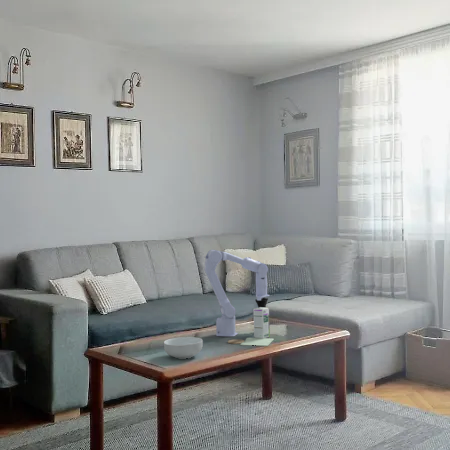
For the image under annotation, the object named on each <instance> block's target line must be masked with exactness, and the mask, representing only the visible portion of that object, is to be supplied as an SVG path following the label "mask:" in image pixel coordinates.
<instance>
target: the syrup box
mask: <svg viewBox="0 0 450 450" xmlns="http://www.w3.org/2000/svg"><path fill="white" fill-rule="evenodd" d="M252 312H253V338H270V336H271V335H270V332H271V330H270V329H271V328H270V307H261V308H258V307H256V308H253V311H252Z"/></svg>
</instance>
